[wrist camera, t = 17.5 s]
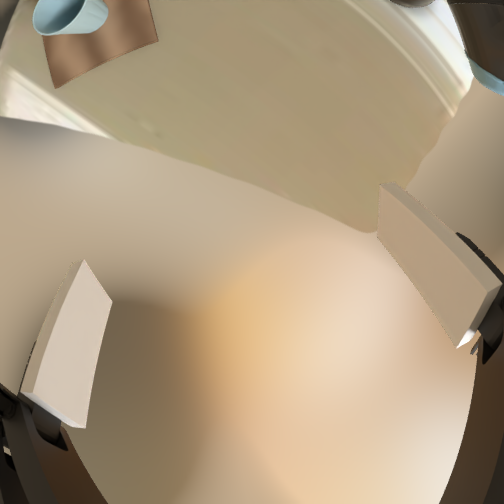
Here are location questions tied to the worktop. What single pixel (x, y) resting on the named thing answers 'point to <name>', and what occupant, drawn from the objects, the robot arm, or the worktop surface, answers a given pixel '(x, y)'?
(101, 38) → the board
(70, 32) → the cup
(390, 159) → the worktop surface
